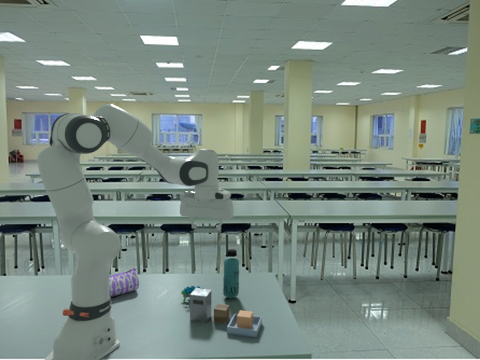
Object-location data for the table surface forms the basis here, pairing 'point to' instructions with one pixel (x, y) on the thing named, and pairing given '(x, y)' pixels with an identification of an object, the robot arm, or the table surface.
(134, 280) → the pencil case
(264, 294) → the table surface
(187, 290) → the gear
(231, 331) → the tray
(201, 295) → the box
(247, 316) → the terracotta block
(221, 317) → the walnut block
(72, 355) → the robot arm
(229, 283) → the beverage bottle
